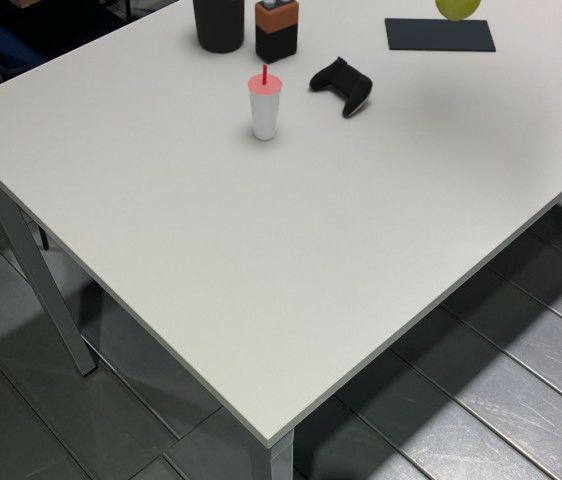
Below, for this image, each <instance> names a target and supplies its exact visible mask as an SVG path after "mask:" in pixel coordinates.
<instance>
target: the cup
mask: <svg viewBox="0 0 562 480" xmlns="http://www.w3.org/2000/svg"><path fill="white" fill-rule="evenodd" d="M247 88H248V93H249V102H250V108H251V109H250V111H251V117H252V123H253V124H252V125H253V132H254V136H255V138H257V139H258V140H261V141H269V140H272V139H273V138H274V137H275V136H276V131H277V130H276V129H277V124H278V117H279V108H280V102H281V101H280V100H281V91H282V88H283V82H282V80H281V79H280V78H279V77H278V76H276V75H274V74H271V73H268V65H267V64H262V73H259V74H258V73H257V74H255V75H253V76H251V77H250V78H249V79H248V81H247Z"/></svg>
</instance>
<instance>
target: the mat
mask: <svg viewBox="0 0 562 480" xmlns="http://www.w3.org/2000/svg"><path fill="white" fill-rule="evenodd" d="M384 24H385V30H386V36H387V41H388V42H387V43H388V49H389V51H429V52H430V51H431V52H433V51H434V52H435V51H437V52H482V53H485V52H486V53H491V52H492V53H496V52H497V48H496V45H495V42H494V38H493V35H492V32H491V29H490V26H489V22H488V20H487V19H462V20H459V21H451V20H449V19H447V18H405V17H404V18H403V17H402V18H399V17H385V18H384Z"/></svg>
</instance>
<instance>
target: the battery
mask: <svg viewBox="0 0 562 480" xmlns="http://www.w3.org/2000/svg"><path fill="white" fill-rule="evenodd" d="M299 13H300V2H299V1H297V0H259V1H257V2H256V3H255V4H254V40H255V42H254V43H255V44H254V47H255V53H256V55H258V56H259V57H260V58H261V59H262V60H263V61H264V62H266V63H267V64H271V63H273V62H276V61H278V60H281V59H283V58H286V57H287V56H288V57H289V56H291V55H293V54H296V53H297V51H298V37H299V36H298V35H299V17H300V16H299V15H300V14H299Z"/></svg>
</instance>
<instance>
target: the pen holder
mask: <svg viewBox="0 0 562 480" xmlns="http://www.w3.org/2000/svg"><path fill="white" fill-rule="evenodd" d="M245 5H246V1H245V0H192V6H193V14H194V15H193V16H194V21H195V28H196V29H195V30H196V35H197V41H198V43H199V45H200V46H201V47H202V48H203V49H204V50H206V51H209V52H212V53H216V54H217V53H218V54H224V53H225V54H226V53H231V52H233V51H235V50H237V49H239V48H240V47H241V46H242V45H243V43H244V41H245V26H246V25H245V16H246V14H245V11H246V10H245V9H246V8H245V7H246V6H245Z"/></svg>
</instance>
